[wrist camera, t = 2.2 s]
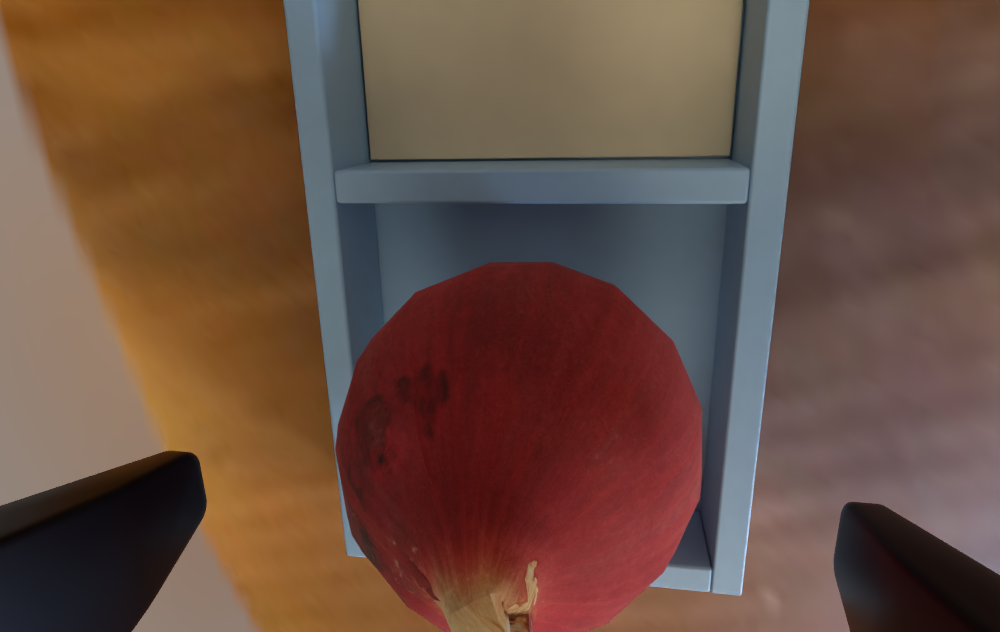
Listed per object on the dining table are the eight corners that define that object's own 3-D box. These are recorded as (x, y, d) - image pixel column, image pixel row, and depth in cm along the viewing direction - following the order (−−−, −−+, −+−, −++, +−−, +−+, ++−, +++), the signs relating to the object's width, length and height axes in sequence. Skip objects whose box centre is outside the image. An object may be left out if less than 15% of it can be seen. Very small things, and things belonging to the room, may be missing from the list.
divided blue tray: (383, 493, 17) (345, 556, 14) (314, -282, 12) (238, -380, 9) (722, 520, 15) (742, 597, 13) (808, -349, 10) (865, -485, 8)
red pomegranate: (432, 469, 15) (258, 810, 8) (399, 233, 14) (140, 385, 6) (680, 473, 14) (751, 870, 7) (678, 217, 13) (771, 375, 5)
